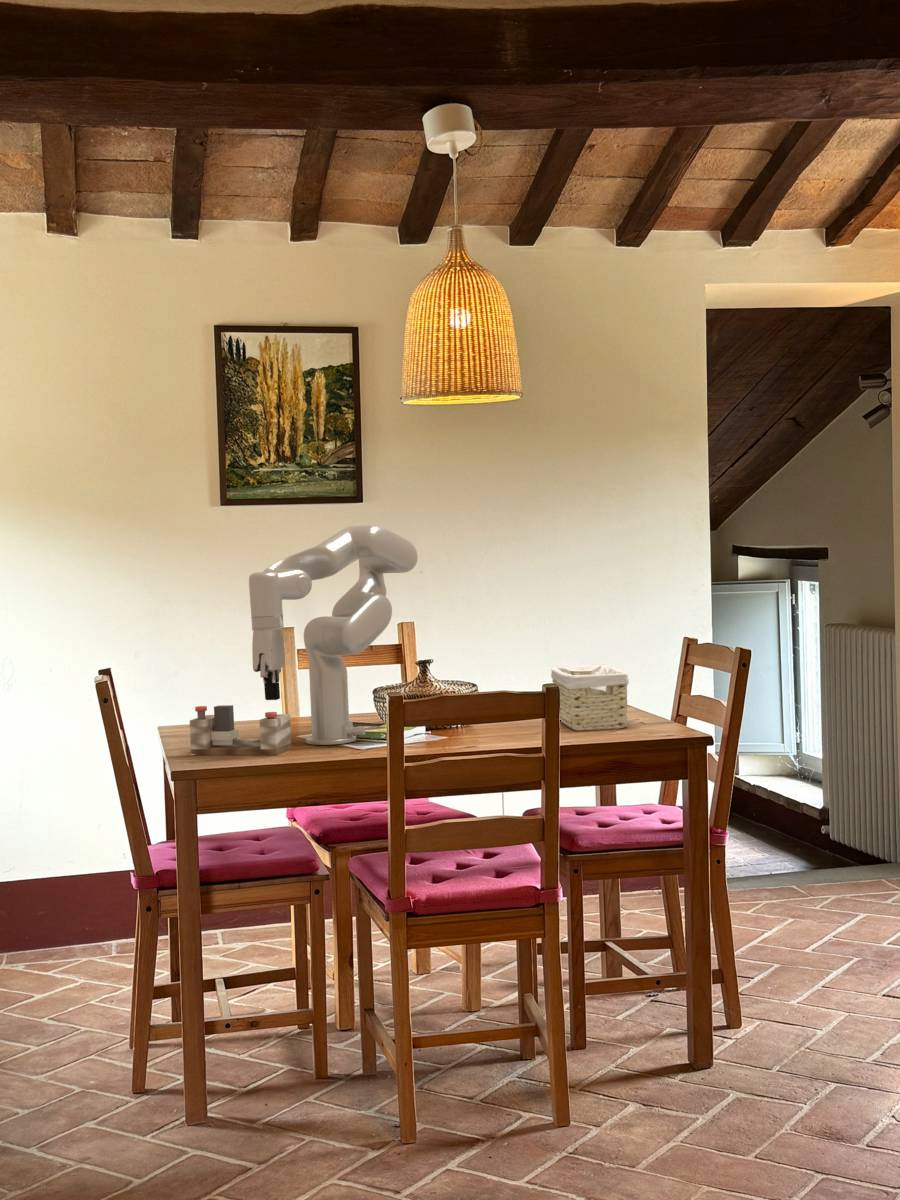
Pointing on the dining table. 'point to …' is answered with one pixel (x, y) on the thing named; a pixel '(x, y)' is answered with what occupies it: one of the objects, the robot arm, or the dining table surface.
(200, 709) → the red rounded knob
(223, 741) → the carriage
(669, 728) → the dining table surface
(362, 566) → the robot arm
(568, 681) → the storage basket
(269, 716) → the red knob cap
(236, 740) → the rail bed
